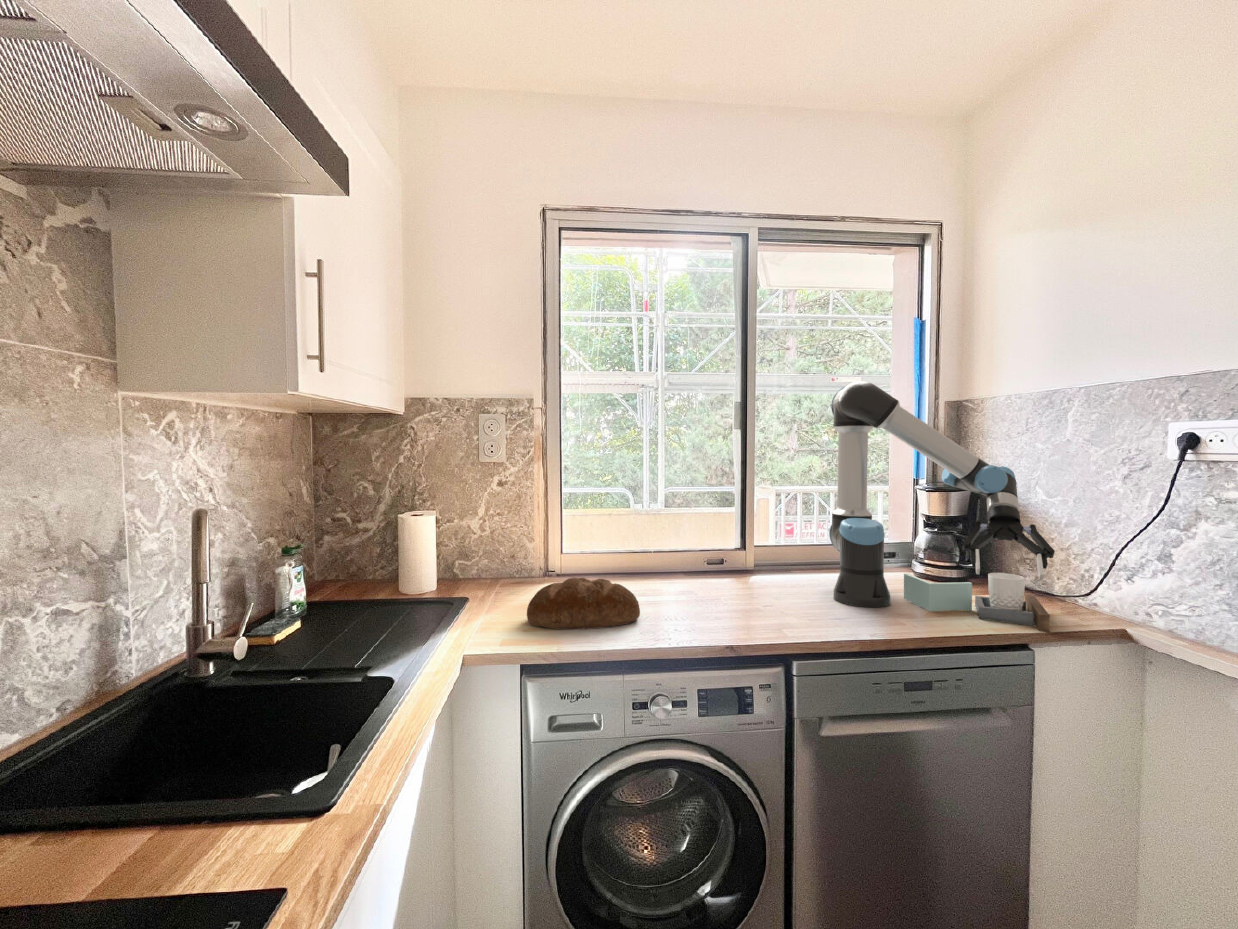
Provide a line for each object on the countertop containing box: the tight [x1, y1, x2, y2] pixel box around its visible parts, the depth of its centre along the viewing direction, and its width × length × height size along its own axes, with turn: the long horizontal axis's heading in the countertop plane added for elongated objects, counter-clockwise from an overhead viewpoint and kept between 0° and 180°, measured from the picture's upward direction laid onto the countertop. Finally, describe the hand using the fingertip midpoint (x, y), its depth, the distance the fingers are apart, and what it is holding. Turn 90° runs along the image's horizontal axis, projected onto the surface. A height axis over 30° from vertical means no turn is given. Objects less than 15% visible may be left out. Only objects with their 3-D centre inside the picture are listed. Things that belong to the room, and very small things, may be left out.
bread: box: [526, 577, 641, 630], centre depth 137 cm, size 16×29×11 cm, turn 96°
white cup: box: [987, 572, 1026, 611], centre depth 139 cm, size 8×8×10 cm
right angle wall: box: [903, 573, 973, 612], centre depth 150 cm, size 12×12×8 cm
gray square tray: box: [974, 595, 1036, 627], centre depth 139 cm, size 12×12×3 cm
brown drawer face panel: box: [1024, 594, 1051, 633], centre depth 135 cm, size 2×20×4 cm, turn 150°
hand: (1008, 574), depth 139 cm, fingers open, 13 cm apart
